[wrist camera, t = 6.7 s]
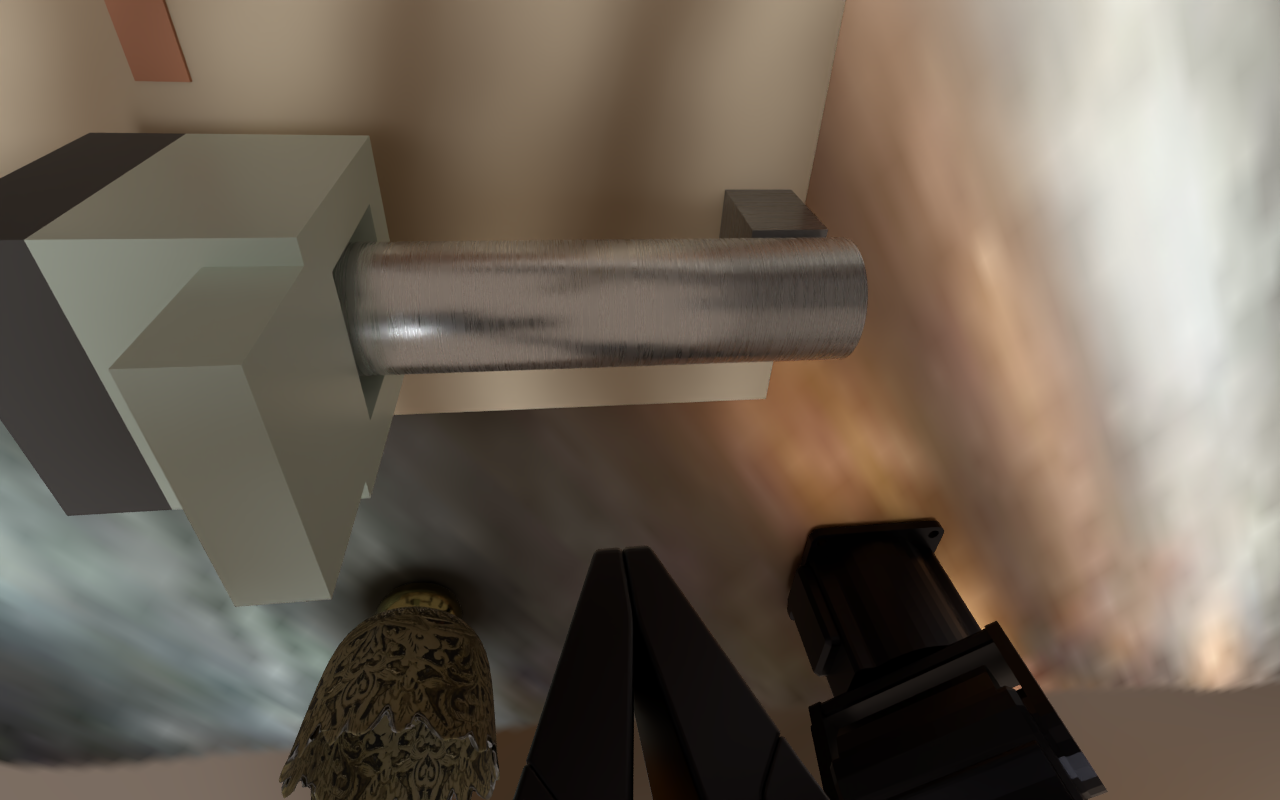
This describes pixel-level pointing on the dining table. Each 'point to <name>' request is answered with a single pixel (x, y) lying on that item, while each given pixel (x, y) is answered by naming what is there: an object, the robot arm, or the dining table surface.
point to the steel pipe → (608, 297)
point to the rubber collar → (65, 339)
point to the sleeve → (236, 343)
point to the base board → (465, 123)
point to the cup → (401, 708)
